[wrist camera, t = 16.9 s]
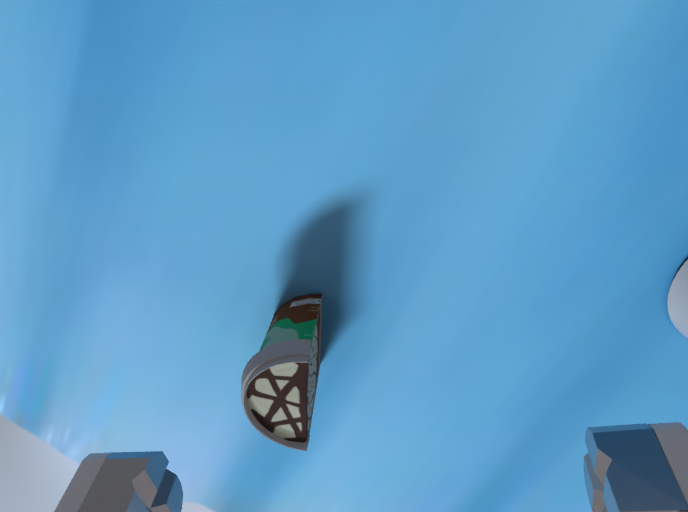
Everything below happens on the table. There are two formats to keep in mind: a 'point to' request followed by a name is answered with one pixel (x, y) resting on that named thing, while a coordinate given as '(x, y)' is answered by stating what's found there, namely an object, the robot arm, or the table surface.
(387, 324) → the table surface
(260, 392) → the food container
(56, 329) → the table surface
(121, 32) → the table surface
